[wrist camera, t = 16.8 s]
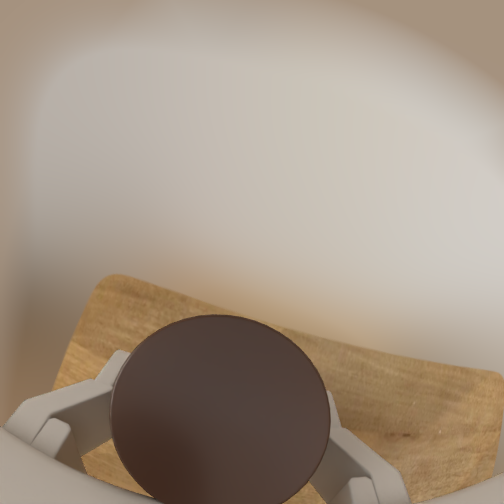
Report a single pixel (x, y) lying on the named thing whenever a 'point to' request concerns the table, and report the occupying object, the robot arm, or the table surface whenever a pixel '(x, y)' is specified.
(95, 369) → the table surface
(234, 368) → the walnut pestle
